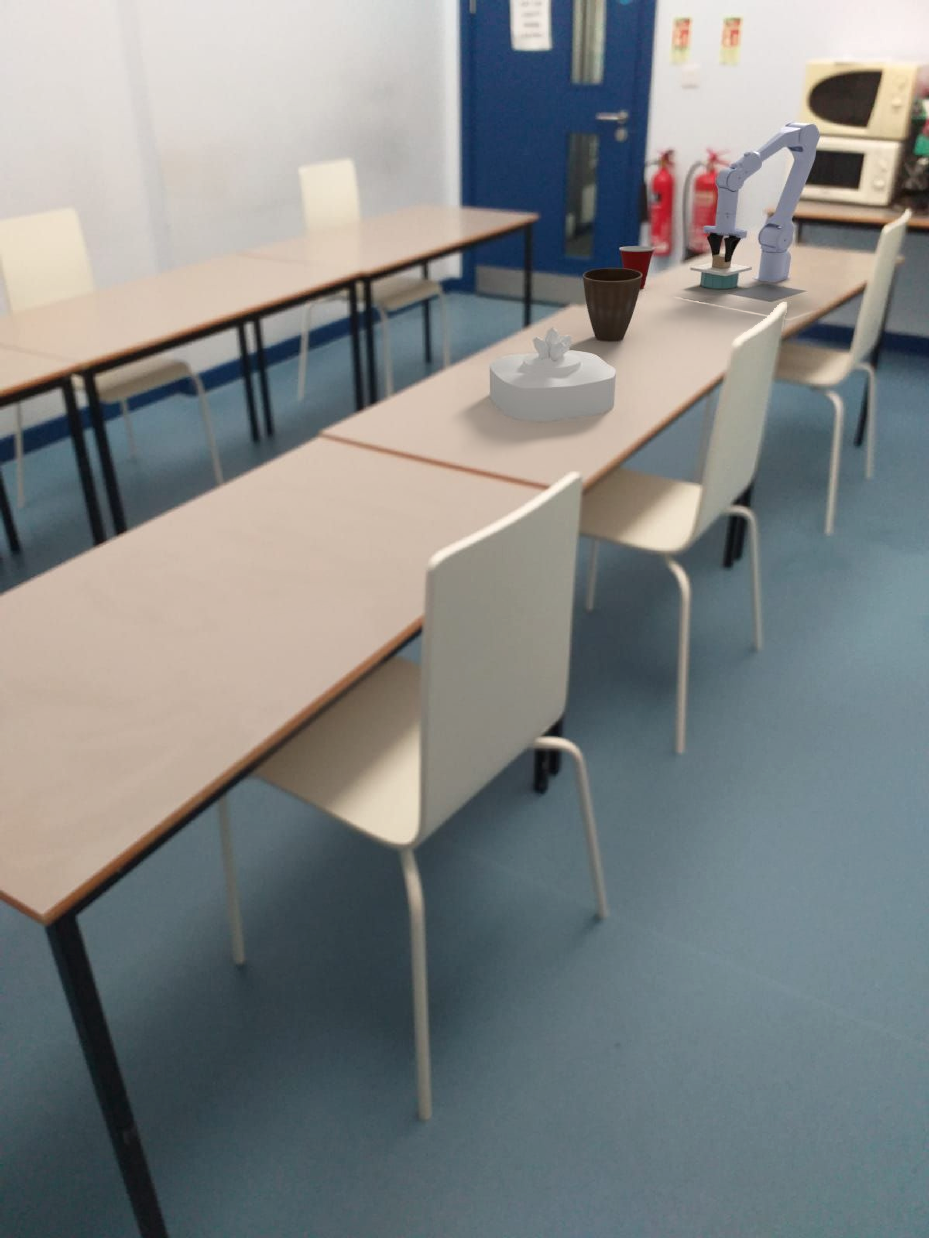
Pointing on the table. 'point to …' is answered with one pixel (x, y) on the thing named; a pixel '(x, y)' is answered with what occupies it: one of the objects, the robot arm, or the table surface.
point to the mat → (767, 292)
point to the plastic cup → (637, 259)
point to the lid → (720, 267)
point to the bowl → (719, 281)
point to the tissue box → (552, 382)
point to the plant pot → (611, 300)
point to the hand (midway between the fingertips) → (721, 261)
